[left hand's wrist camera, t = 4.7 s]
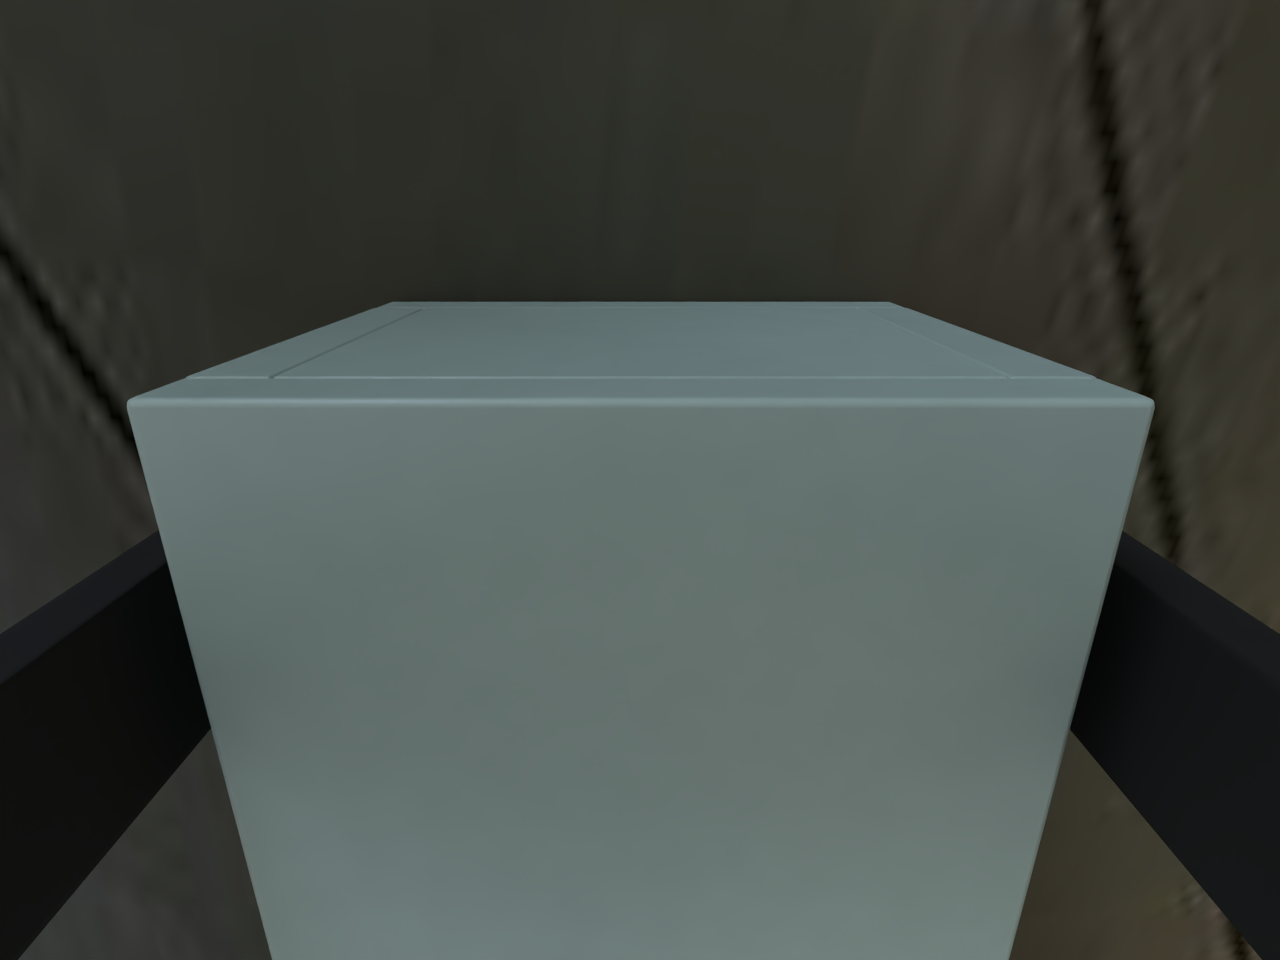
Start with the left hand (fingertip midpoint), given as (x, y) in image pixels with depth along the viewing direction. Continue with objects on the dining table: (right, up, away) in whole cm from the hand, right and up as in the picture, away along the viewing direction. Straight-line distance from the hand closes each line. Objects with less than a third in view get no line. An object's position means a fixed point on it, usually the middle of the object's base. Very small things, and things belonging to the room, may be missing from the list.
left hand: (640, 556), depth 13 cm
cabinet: (0, -4, +6) cm, 8 cm away
